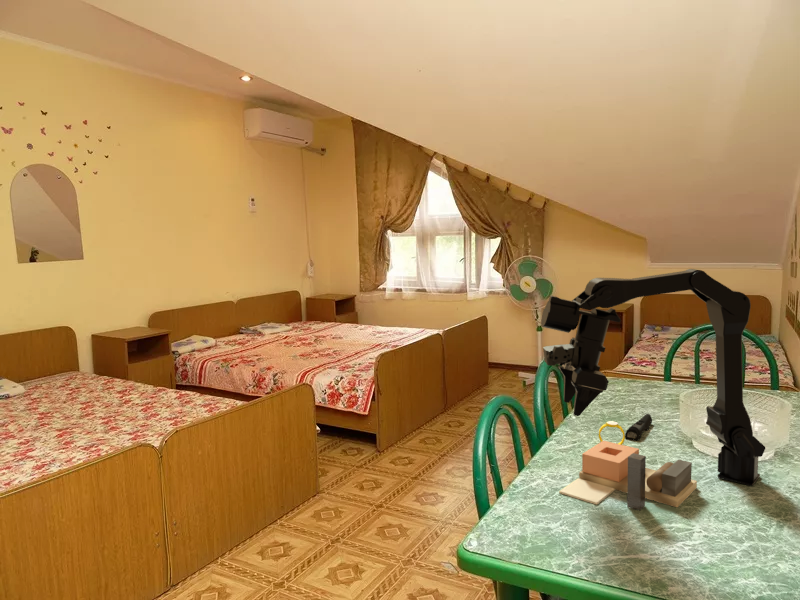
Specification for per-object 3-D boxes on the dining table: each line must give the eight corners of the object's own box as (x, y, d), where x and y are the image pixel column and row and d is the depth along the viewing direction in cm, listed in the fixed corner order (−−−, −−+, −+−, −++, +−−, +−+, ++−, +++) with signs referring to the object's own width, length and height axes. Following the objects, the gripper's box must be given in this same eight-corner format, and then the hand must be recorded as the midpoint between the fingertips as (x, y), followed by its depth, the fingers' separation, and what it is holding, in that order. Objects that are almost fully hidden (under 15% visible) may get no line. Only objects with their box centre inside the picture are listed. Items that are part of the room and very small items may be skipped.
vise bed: (696, 487, 119) (697, 461, 118) (677, 507, 111) (677, 479, 110) (602, 463, 132) (602, 439, 132) (579, 479, 125) (579, 454, 124)
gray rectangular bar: (644, 506, 112) (645, 456, 111) (639, 510, 110) (640, 459, 109) (632, 502, 113) (633, 453, 112) (627, 506, 112) (627, 456, 110)
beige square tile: (614, 490, 119) (614, 488, 119) (596, 504, 113) (596, 502, 113) (578, 479, 124) (578, 478, 124) (559, 492, 119) (559, 490, 118)
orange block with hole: (638, 466, 126) (639, 448, 126) (619, 481, 119) (619, 463, 118) (603, 457, 132) (603, 440, 131) (582, 471, 124) (582, 453, 124)
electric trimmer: (655, 425, 157) (656, 414, 157) (638, 442, 145) (639, 430, 145) (641, 423, 159) (641, 412, 159) (623, 439, 147) (623, 427, 147)
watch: (623, 446, 143) (626, 422, 142) (624, 450, 140) (626, 426, 140) (598, 442, 145) (600, 419, 144) (597, 446, 142) (599, 422, 142)
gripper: (543, 322, 131) (527, 388, 133) (560, 337, 112) (541, 413, 114) (592, 333, 130) (575, 399, 132) (618, 350, 112) (597, 426, 114)
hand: (571, 408), depth 123 cm, fingers open, 9 cm apart
